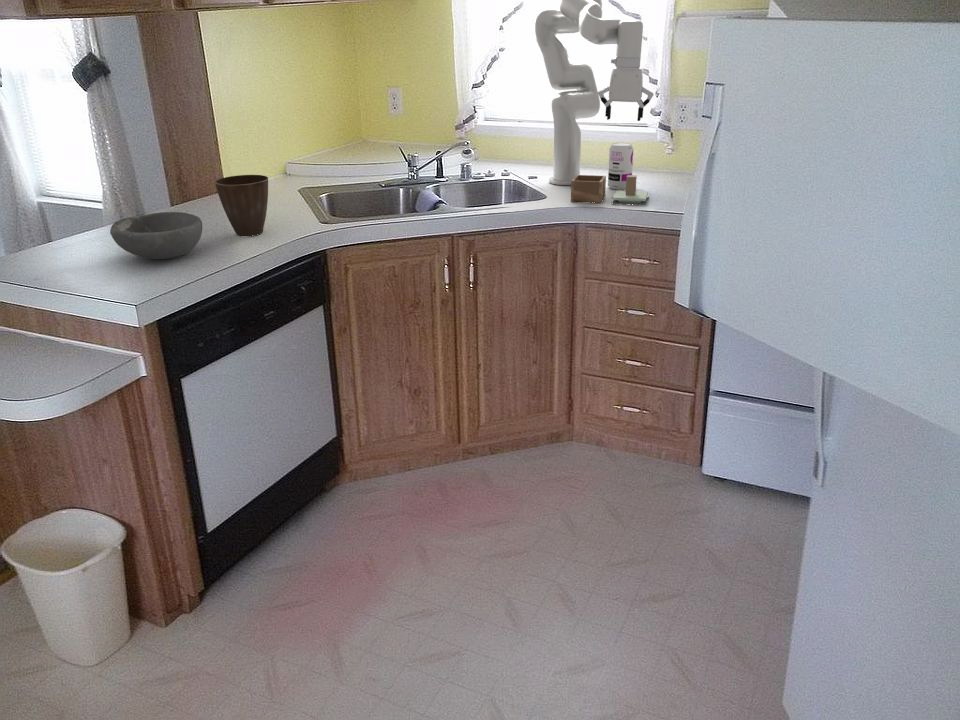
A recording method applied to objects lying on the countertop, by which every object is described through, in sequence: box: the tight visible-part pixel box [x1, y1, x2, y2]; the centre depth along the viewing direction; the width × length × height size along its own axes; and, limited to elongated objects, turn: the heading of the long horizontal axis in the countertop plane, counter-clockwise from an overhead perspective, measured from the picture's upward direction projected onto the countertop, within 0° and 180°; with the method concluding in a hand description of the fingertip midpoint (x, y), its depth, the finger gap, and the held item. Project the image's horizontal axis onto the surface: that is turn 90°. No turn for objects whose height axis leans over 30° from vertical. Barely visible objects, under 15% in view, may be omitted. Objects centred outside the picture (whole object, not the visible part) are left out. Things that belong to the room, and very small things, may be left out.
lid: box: [612, 174, 649, 203], centre depth 266 cm, size 10×10×8 cm
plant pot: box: [214, 174, 269, 237], centre depth 237 cm, size 15×15×16 cm
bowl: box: [109, 211, 203, 260], centre depth 219 cm, size 23×22×10 cm
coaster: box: [611, 196, 650, 206], centre depth 268 cm, size 11×11×1 cm
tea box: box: [570, 174, 607, 204], centre depth 270 cm, size 10×10×7 cm
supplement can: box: [607, 142, 634, 191], centre depth 284 cm, size 8×8×15 cm
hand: (623, 119), depth 261 cm, fingers open, 9 cm apart
